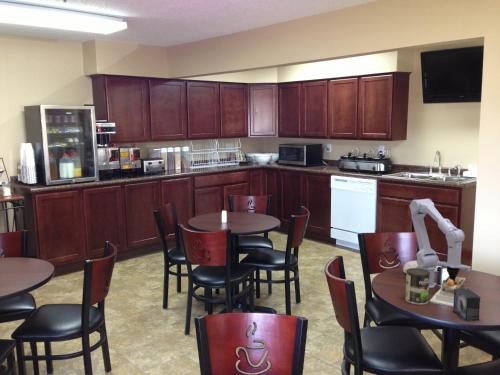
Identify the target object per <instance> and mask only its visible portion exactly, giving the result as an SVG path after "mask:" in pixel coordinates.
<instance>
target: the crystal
mask: <svg viewBox="0 0 500 375" xmlns="http://www.w3.org/2000/svg"><path fill="white" fill-rule="evenodd" d="M416 266H418V265H417V260H412V261H407V262H406V263H405V264H404V265H403V268H402V271H403V273H404V274H406V275H407V272H406V270H407V269H410V268H416ZM438 267H441V268H442V266H436V268H435V273H436V272H438V271H437V268H438Z"/></svg>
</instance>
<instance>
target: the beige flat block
mask: <svg viewBox="0 0 500 375" xmlns="http://www.w3.org/2000/svg"><path fill="white" fill-rule="evenodd" d="M437 292H438V291H437ZM437 292H436V293H437ZM436 293H435V294H436ZM436 300H441V301H445V302H450V303H454V294H451V293H447V292H442V291H441V290H440V291H439V292H438V293H437V294H436Z"/></svg>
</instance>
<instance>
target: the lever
mask: <svg viewBox="0 0 500 375" xmlns="http://www.w3.org/2000/svg"><path fill="white" fill-rule="evenodd" d="M449 279H450V277H449V276H447V277H446V279H444V280H445V281H444V282H443V281H442V283H441V287H442V288H447V289H452V290H454V289H459V288H462V284H465V281H466V278H465V277H460V276H456V279H455V283H454V285H453V286H449V285H448V283H447V281H448V280H449Z"/></svg>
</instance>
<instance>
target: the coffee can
mask: <svg viewBox="0 0 500 375" xmlns="http://www.w3.org/2000/svg"><path fill="white" fill-rule="evenodd" d="M406 272H407V274H406V276H405V278H406V280H405V299H404V300H405V301H406V302H407V303H409V304H413V305H419V306H421V305H427V304H428V303H429V290H430V288H429V278H430V272H429V271H427V270H424V269H419V268H410V269H407V270H406Z"/></svg>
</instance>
